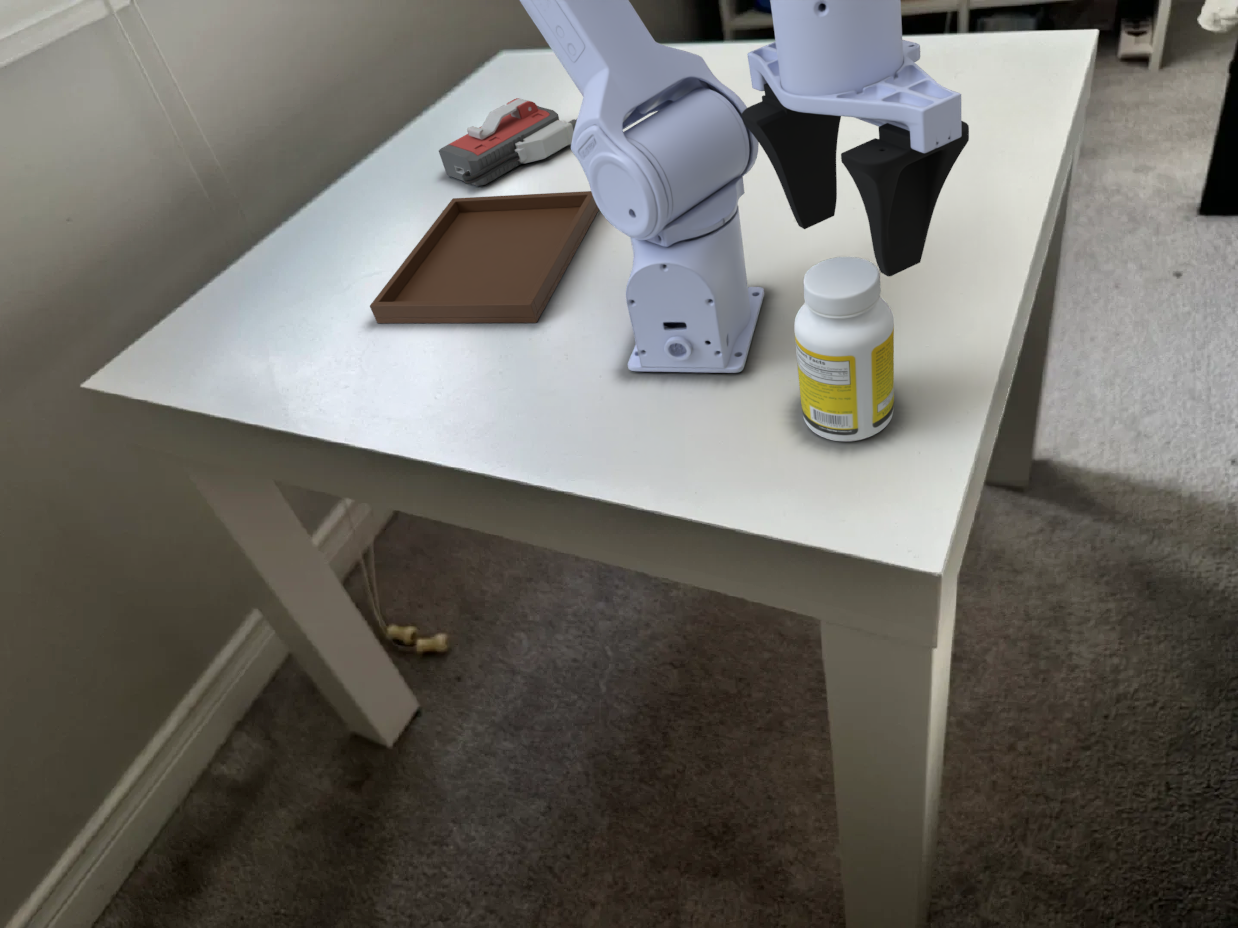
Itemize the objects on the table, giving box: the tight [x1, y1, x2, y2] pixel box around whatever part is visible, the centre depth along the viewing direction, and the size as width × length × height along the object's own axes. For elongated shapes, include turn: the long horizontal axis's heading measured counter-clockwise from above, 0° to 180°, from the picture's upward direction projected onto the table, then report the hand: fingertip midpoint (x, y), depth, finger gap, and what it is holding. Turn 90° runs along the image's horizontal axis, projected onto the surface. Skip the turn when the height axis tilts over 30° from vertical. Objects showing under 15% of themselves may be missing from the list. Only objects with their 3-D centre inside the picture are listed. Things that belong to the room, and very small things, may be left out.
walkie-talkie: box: [438, 97, 577, 187], centre depth 91 cm, size 9×4×20 cm
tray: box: [369, 190, 600, 324], centre depth 76 cm, size 17×14×2 cm
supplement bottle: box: [793, 256, 895, 442], centre depth 51 cm, size 5×5×10 cm
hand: (856, 242), depth 49 cm, fingers open, 7 cm apart
